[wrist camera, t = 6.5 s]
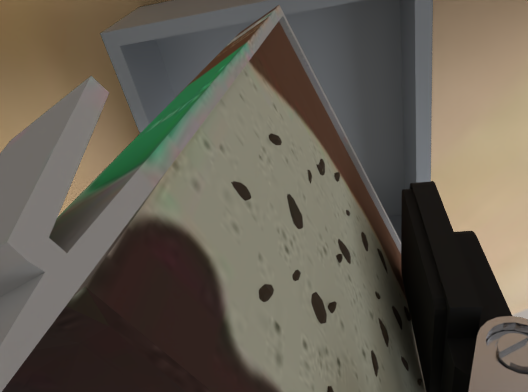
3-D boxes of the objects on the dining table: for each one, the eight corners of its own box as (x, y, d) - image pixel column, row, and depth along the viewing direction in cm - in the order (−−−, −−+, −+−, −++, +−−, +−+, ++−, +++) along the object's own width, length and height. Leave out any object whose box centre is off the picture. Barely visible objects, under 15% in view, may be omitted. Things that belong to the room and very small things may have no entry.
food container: (47, 70, 12) (-568, 515, 4) (246, -62, 9) (-189, 326, 1) (274, 339, 17) (238, 739, 9) (429, 297, 15) (557, 773, 7)
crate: (410, -49, 25) (433, -33, 20) (414, 213, 35) (429, 267, 30) (138, 7, 28) (100, 33, 23) (215, 231, 38) (199, 282, 33)
